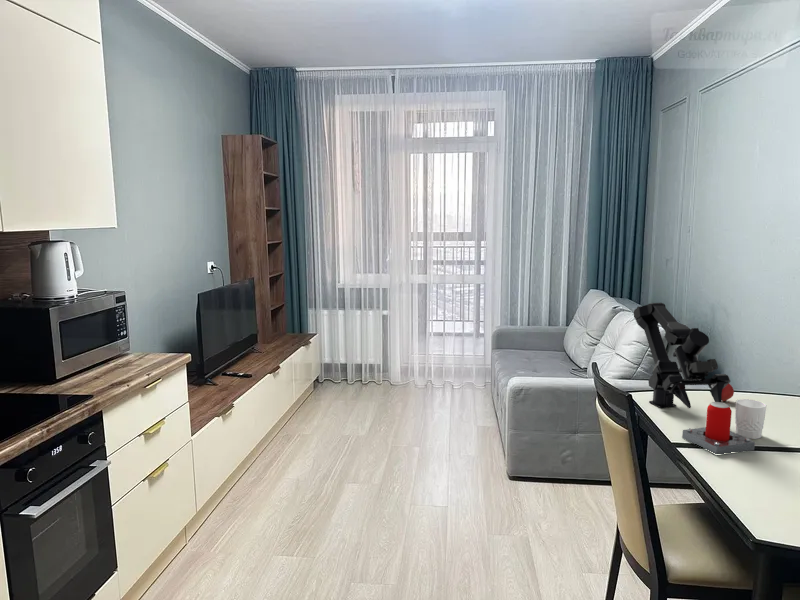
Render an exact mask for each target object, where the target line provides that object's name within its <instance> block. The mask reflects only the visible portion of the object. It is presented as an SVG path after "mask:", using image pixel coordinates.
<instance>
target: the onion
mask: <svg viewBox="0 0 800 600" xmlns="http://www.w3.org/2000/svg"><path fill="white" fill-rule="evenodd" d="M734 394H735V390H734V388H733V386H732V384H730V383H729V384H728V385H727V386H726V387H724V388H723V389H722V400H721V402H727V401H729V399H731V398H732V397H733V396H734Z"/></svg>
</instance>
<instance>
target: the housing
mask: <svg viewBox="0 0 800 600" xmlns="http://www.w3.org/2000/svg"><path fill="white" fill-rule="evenodd" d="M705 432H706V426H704V427H697V428H695V427H694V428H689V427H688V428H687V429H682V434H681V435H682V436H681V438H682V439H683V438H684V440H685V439H686V440H685V441H687V440H688V442H689V441H690V442H689V443H691V442H692V443H691V444H693V443H694V444H693V445H695V444H697V445H699V446H701V447H703V448H705V449H707V450H709V451H711V452H713V453H715V454H724V453H731V452H738V453H744V452H743V451H746V452H752V450H753V451H755V445H756V442H755V441H754V440H753V439H750V438H745V437H743V436H741V435H739V434H736V432H735V431H732V430H730V438H729V441H718V440H713V439H710V438H708V437H706V436H705ZM697 445H696V446H697ZM699 446H698V447H699ZM701 447H700V448H701ZM731 454H732V453H731ZM724 455H725V454H724Z"/></svg>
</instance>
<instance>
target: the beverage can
mask: <svg viewBox="0 0 800 600" xmlns="http://www.w3.org/2000/svg"><path fill="white" fill-rule="evenodd" d="M731 424H732V409H731V406H730V405H729V404H728V403H725V402H723V401H721V402H715V401H712V402H710V403H709V404H708V406H707V407H706V419H705V427H706V432H705V436H706V437H708V438H710V439H713V440H718V441H729V438H730V431H731Z"/></svg>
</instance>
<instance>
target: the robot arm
mask: <svg viewBox="0 0 800 600" xmlns="http://www.w3.org/2000/svg"><path fill="white" fill-rule="evenodd" d="M633 318H634V319H635V322H636V324H637V326H639V328H641V329H642V330H643V331H644V335H645V336H646V340H647V343H648V347H649V349H650V353H651V357H652V358H653V362H654V367H653V370H652V375H651V376H650V377H649V379H648V387H650V388H651V389H653V393H652V394H653V395H652V397H653V398H652V400H649V401H648V403H650V404H651V405H653V406H656V407H658V408H660V409H663V408H664V409H665V408H673V407H675V408H676V407H677V404H675V403H674V397H676V398H677V399H679V400H680V401H681V402H682V403H683V405H684V406H685V407H687V409H691V408H692V405H691V401H690V399H689V396H688V393H687V391H686V386H708V388H709V389H710V390H709V393H710V395H711V396H712V398H713V400H714V401H713V402H722V389H723V388H724V387H726V386H727V385H728V384H730V383H731V378H730V376H729V375H728V374H726V373H722V374H721V373H719V374H718V373H716V374H713V375H712V376H711V378H706V377H708V376H709V373H713V372H714V371H715V370H718V368H719V365H718V362H717V360H716V358H712V359H711V358H709V359H707V360H706V361H702V360H699V358H698V355H700V354H701V352H702V351H703V350H704V349H705V348H706V347H707V345H708V344H709V343H710V338H709V336H708V335H707V334H706V333H705V332H703V331H701V330H699V327H692V328H689V327H688V326H687V325H685V324H682V323H680V322H678V321H677V319H676V318H675V317H674V316H673V314H672V313H671V312H670V310H668V309H667V308H666V305H665V303H664V302H650V303H648V304H645V305H643V306H642V305H641V306H637V307H636V308H635V309H634V310H633ZM659 325H660V326H661V329H663V331H664V332H665V333H664V338H665V340H666V342H667V343H668V345H669V346H676V348H675V349H674V352H673V354H672V356H673V357H674V358H675V357H676V360H677V361H672V360H670V358H669V355H668V352H667V348H666V346H665V342H664V339H663V337H662V334H661V331H660V328H659ZM677 346H678V347H677ZM677 362H678V363H677ZM678 365H679V366H678ZM681 373H682V374H681Z"/></svg>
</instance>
